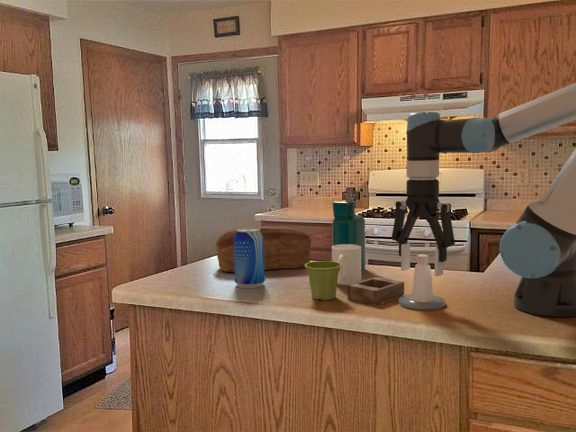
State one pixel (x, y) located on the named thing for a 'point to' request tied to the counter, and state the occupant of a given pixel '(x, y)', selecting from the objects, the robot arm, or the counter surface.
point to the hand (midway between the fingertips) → (421, 272)
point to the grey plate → (421, 303)
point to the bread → (270, 248)
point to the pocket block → (375, 290)
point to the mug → (348, 263)
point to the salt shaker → (422, 281)
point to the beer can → (249, 258)
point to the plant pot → (323, 278)
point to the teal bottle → (348, 227)
